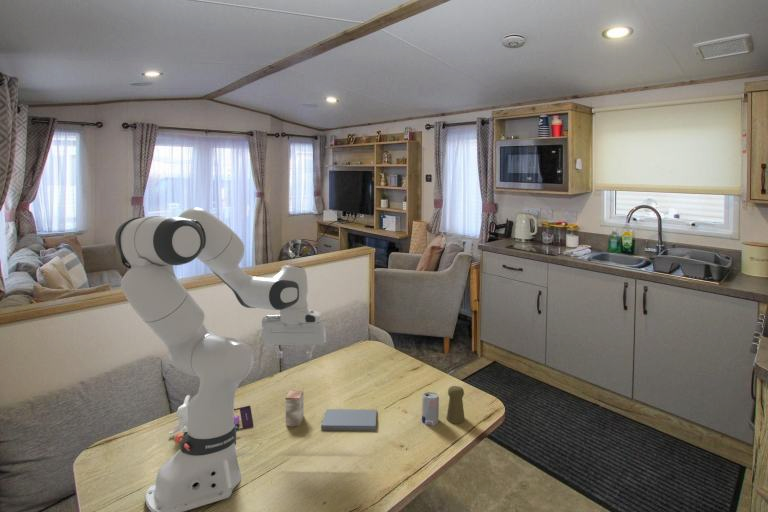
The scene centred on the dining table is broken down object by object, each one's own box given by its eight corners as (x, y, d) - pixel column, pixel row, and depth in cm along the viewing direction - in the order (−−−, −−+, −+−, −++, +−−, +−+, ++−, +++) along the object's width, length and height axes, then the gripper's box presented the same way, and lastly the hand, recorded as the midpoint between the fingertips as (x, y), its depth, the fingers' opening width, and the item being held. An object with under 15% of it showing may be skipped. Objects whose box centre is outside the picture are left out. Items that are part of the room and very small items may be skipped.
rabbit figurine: (167, 434, 129) (166, 403, 129) (177, 423, 137) (176, 394, 136) (208, 432, 131) (207, 402, 130) (215, 421, 138) (215, 392, 137)
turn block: (285, 425, 135) (285, 397, 135) (290, 417, 141) (289, 390, 141) (299, 425, 135) (299, 398, 135) (303, 417, 141) (303, 391, 141)
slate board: (376, 413, 144) (376, 409, 144) (375, 430, 132) (375, 425, 132) (326, 413, 144) (326, 409, 144) (321, 430, 132) (321, 425, 132)
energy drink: (427, 425, 143) (428, 390, 142) (441, 430, 139) (442, 395, 139) (418, 431, 139) (419, 395, 138) (432, 436, 135) (433, 399, 134)
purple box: (253, 425, 134) (223, 432, 130) (252, 430, 138) (223, 437, 134) (250, 404, 137) (220, 411, 133) (249, 410, 141) (220, 416, 137)
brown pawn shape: (445, 422, 138) (445, 389, 137) (447, 414, 144) (448, 383, 143) (463, 425, 136) (464, 391, 135) (465, 417, 142) (466, 385, 141)
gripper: (258, 317, 133) (259, 360, 134) (323, 317, 133) (323, 360, 134) (264, 313, 140) (265, 354, 140) (326, 313, 139) (326, 354, 140)
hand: (294, 357), depth 137 cm, fingers open, 8 cm apart
